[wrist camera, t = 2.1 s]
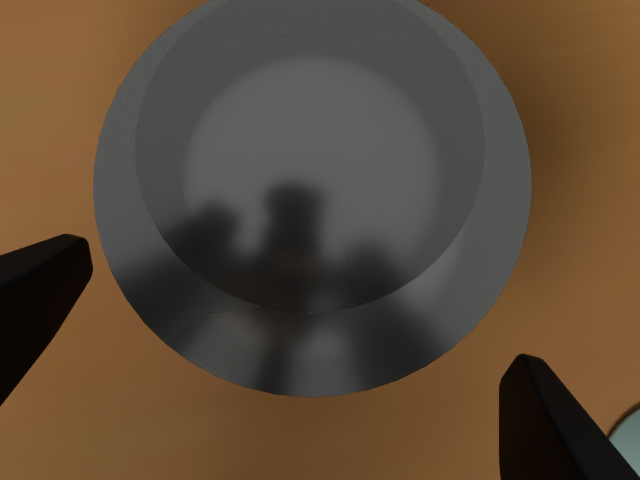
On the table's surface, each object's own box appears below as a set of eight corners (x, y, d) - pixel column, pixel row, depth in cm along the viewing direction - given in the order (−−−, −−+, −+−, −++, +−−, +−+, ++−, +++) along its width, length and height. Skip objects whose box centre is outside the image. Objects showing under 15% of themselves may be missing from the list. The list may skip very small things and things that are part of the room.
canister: (330, 366, 18) (357, 552, 4) (227, 281, 18) (-71, 177, 4) (410, 260, 18) (679, 95, 5) (309, 183, 19) (274, -173, 5)
